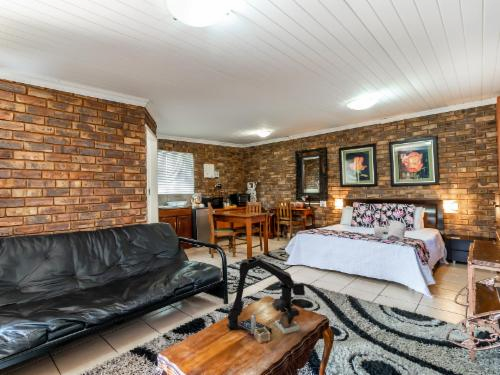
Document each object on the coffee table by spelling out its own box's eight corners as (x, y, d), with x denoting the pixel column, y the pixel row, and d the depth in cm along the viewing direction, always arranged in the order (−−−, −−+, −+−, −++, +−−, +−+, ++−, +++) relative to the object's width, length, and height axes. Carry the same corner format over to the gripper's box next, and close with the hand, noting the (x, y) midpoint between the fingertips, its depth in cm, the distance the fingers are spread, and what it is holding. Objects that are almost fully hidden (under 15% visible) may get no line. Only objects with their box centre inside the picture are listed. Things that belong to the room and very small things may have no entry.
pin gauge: (250, 332, 154) (250, 314, 154) (254, 331, 155) (254, 313, 155) (252, 334, 151) (252, 317, 151) (256, 333, 152) (256, 315, 152)
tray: (274, 325, 161) (274, 321, 161) (289, 321, 165) (289, 317, 165) (283, 334, 151) (283, 329, 151) (299, 329, 156) (299, 325, 156)
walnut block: (279, 322, 160) (279, 312, 160) (288, 320, 162) (288, 310, 162) (284, 327, 154) (284, 317, 154) (293, 325, 157) (293, 315, 157)
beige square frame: (254, 336, 149) (254, 329, 149) (264, 334, 152) (264, 327, 152) (259, 343, 143) (259, 335, 143) (270, 340, 146) (270, 332, 146)
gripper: (266, 291, 163) (267, 317, 164) (282, 304, 146) (282, 332, 146) (282, 288, 168) (283, 313, 168) (300, 300, 151) (300, 328, 151)
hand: (286, 321), depth 158 cm, fingers closed on walnut block, 6 cm apart
